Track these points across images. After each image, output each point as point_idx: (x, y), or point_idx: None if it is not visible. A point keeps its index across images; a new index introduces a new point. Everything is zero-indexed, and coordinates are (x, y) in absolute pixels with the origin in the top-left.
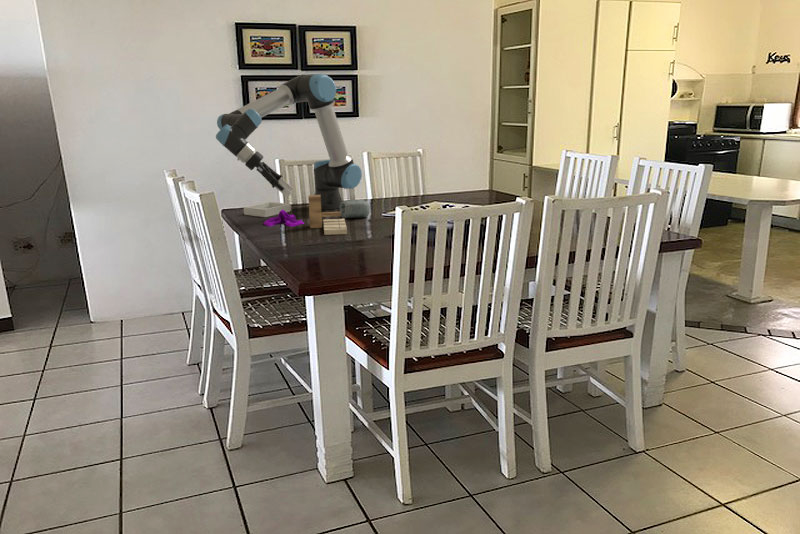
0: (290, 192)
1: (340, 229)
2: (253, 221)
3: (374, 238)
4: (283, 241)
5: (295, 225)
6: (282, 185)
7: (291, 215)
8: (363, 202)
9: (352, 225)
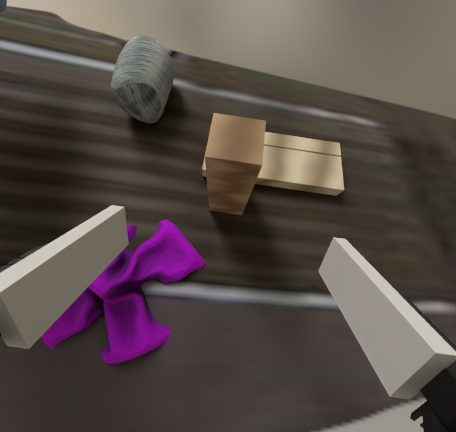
0: (347, 246)
1: (340, 155)
2: (28, 410)
3: (379, 118)
4: None
5: (194, 250)
6: (407, 308)
7: None
8: (158, 44)
9: None
